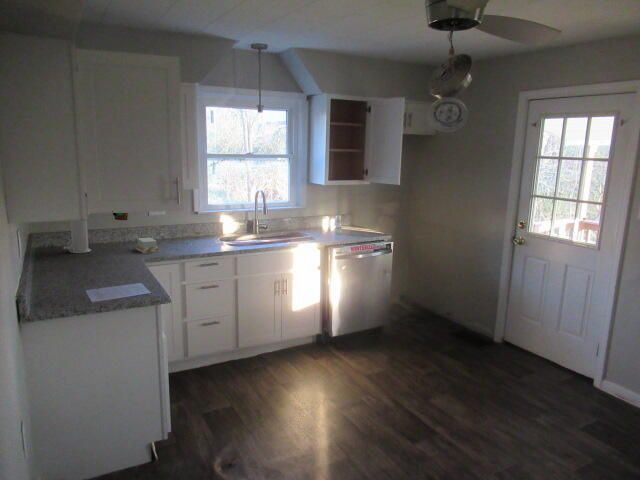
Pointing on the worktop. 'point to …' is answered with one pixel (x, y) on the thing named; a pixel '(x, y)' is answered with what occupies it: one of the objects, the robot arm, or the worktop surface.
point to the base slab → (146, 249)
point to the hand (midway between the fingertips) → (120, 215)
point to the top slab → (147, 242)
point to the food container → (121, 216)
